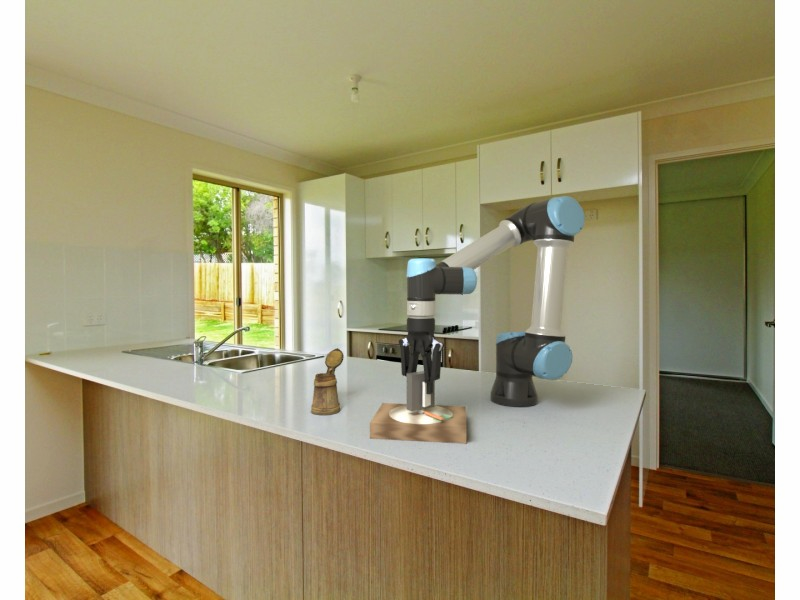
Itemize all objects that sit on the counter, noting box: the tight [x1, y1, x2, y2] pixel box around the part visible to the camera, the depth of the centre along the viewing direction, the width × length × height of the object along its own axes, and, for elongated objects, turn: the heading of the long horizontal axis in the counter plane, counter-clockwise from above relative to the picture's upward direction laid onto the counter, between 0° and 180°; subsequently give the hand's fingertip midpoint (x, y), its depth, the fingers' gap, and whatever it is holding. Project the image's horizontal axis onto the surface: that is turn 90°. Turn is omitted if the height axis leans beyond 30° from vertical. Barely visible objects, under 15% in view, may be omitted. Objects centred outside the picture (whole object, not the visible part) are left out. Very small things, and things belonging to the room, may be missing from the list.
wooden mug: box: [310, 348, 345, 416], centre depth 134 cm, size 9×14×18 cm, turn 163°
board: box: [369, 402, 467, 444], centre depth 116 cm, size 24×18×4 cm
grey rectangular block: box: [406, 370, 443, 420], centre depth 113 cm, size 8×10×11 cm
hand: (420, 404), depth 116 cm, fingers closed on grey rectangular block, 3 cm apart
